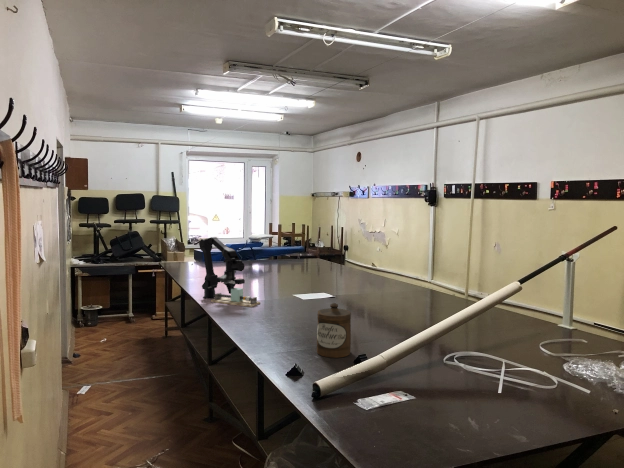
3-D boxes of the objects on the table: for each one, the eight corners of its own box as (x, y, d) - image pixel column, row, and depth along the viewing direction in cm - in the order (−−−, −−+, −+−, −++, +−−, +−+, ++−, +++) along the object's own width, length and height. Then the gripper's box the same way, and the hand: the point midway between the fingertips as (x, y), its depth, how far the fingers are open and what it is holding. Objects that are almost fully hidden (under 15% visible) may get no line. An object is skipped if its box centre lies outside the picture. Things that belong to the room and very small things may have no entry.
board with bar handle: (211, 301, 307) (211, 294, 307) (221, 298, 317) (221, 291, 317) (251, 307, 295) (251, 299, 294) (260, 303, 305) (260, 296, 304)
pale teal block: (230, 300, 304) (230, 288, 304) (235, 299, 309) (235, 287, 308) (238, 301, 302) (238, 289, 301) (243, 300, 306) (243, 288, 306)
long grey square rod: (215, 297, 311) (215, 293, 310) (218, 296, 313) (218, 292, 313) (253, 301, 299) (253, 298, 299) (255, 301, 301) (255, 297, 301)
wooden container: (311, 355, 206) (312, 304, 204) (323, 345, 220) (324, 298, 218) (344, 360, 201) (345, 308, 199) (354, 349, 215) (355, 301, 213)
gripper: (210, 270, 303) (210, 294, 304) (235, 272, 295) (235, 297, 296) (221, 268, 313) (220, 291, 314) (245, 270, 305) (245, 294, 306)
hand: (230, 293), depth 307 cm, fingers closed
